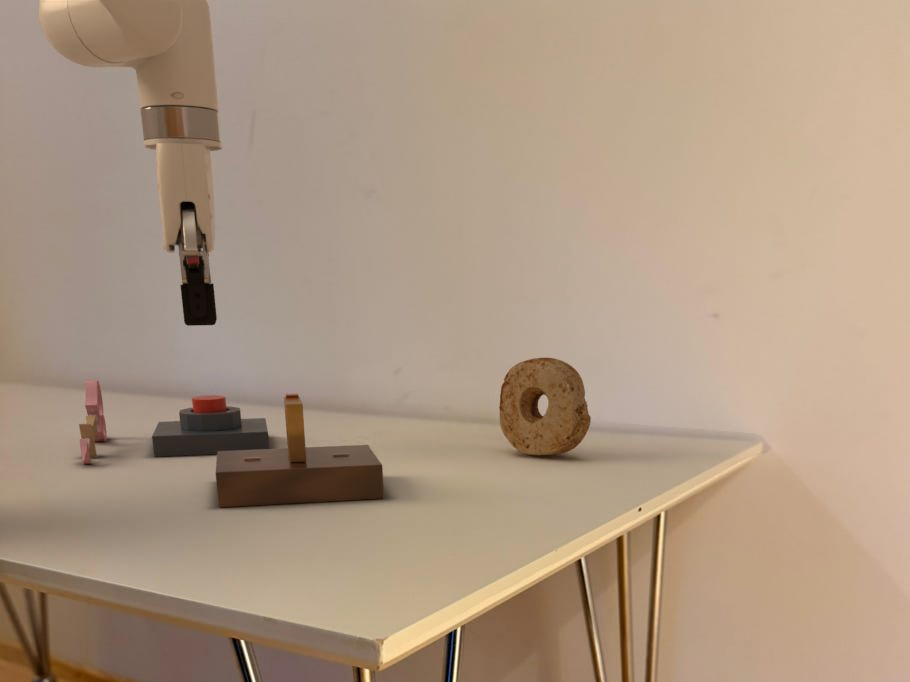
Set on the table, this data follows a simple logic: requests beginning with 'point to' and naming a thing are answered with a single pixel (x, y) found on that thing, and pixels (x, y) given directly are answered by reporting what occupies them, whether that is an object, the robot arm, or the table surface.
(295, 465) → the plate
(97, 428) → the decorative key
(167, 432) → the confirm box
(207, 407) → the button
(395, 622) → the table surface
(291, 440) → the thumbturn
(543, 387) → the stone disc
